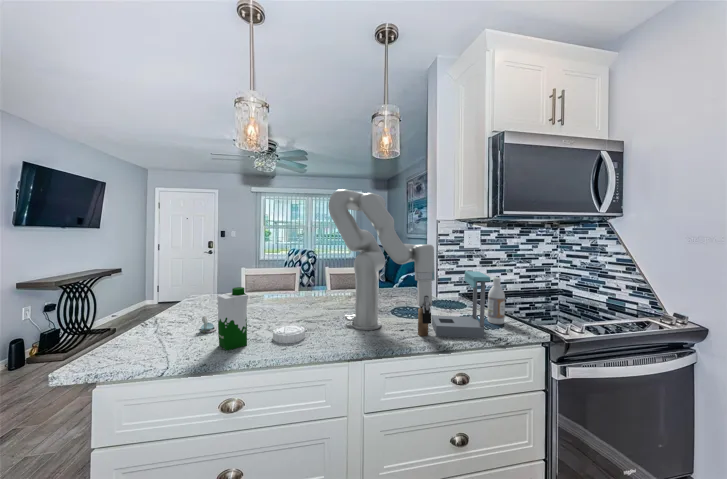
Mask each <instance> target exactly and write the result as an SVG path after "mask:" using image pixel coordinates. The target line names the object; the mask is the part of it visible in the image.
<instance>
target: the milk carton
mask: <svg viewBox="0 0 727 479" xmlns="http://www.w3.org/2000/svg"><path fill="white" fill-rule="evenodd" d="M231 291H232V292H230V293H229V292H227V293H224V294H218V295H216V296H217V332H218V333H217V334H218V336H217V337H218V345H219V346H220V347H222V349H223V350H225V351H231V349H232V350H234V349H235V350H236V349H238V348H242V347H246V346H248V314H247V313H248V300H249V295H248V294H246V293H245V287H243V286H240V287H239V286H237V287H233V288H232V290H231Z"/></svg>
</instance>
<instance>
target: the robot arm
mask: <svg viewBox="0 0 727 479" xmlns="http://www.w3.org/2000/svg"><path fill="white" fill-rule="evenodd" d="M328 200H329V201H328V204H327V205H328V213H329V215H330V217H331V219H332V221H333V223H334V224H335V227H336V228H337V230H338V233H339V234H340V236H341V239H342V240H343V242H344V243H345V244H344V245H345V246H346V248H347V249H348V250H349V251H351V252H359V253H358V255H357V256H356V257H355V258H354V261H353V269H354V270H353V271H354V275H355V278H354V281H355V313H354V314H352V315H350V314H345V318H344V319H345V320H346V321H347V322H351V321H352V322H351V326H352V327H353V328H354V329H356V330H362V331H375V330H377V329H380V328H381V327H382V322H381V321H380V320H379V308H378V307H379V279H378V276H377V272H379V271H381V270H382V269H383V268H384V267H385V265H386V258H385V255H384V253H383V251H382V249H381V247H380V246H379V244H378V241H377V239H376V237H374V235H373V234H372V233H371V231H369V230H367V229H364V228H363V229H361V228H360V226H359V225H358V223H357V221H356V219H355V217H354V216H353V215H352V214H351V212H350V211H357V212H363V214H364V215H365V216H366V218H367V219H368V221H369V222H370V224H371V225H372V227H373V228H374V229H375V231H376V234H377V237H378V240H379V241H380V245H381V246H382V248H383V249H384V251H385V252H386V253H387V255H388V257H389V258H390V259H391V260H392V261H393V262H394V263H396V264H398V265H406V264H408V263H411V262H414V281H417V284H416V287H417V290H416V292H417V296H416V297H417V300H416V301H417V302H416V303H417V304H418V306H419V308H423V313H422V322H423V324H428V325H432V312H431V311H432V310H431V307H432V305H433V286H432V285H433V283H432V282H434V281H435V278H436V275H435V247H434V246H433V244H426V243H425V244H412V243H403V241H402V240H401V239H400V237H399V235H398V234H397V232H396V230H395V219H394V217H393V216H392V215H391V213H390V212H389V211H388V209H387V208H386V199H384V197H383V196H382V195H380V194H378V193H373V192H367V193H366V192H365V193H364V192H360V191H359V192H358V191H354V190H350V189H346V188H345V189H343V188H342V189H339V188H338V189H337V190H335V191H334V192H333V193H332V194H331V196H330V197H329V199H328Z"/></svg>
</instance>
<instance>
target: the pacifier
mask: <svg viewBox="0 0 727 479" xmlns="http://www.w3.org/2000/svg"><path fill="white" fill-rule="evenodd" d="M201 322H202V323H203V324H202V325H201V327H200V328H199V329H198V331H202V333H206V334H207V333H213V332H216V331H217V330H218V327H216V326H214V324H213V323H212V322H208V318H207V316H206V315H203V316H202V318H201Z"/></svg>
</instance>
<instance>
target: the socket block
mask: <svg viewBox="0 0 727 479" xmlns="http://www.w3.org/2000/svg"><path fill="white" fill-rule="evenodd" d="M472 317H473V316H461V315H460V316H457V315H456V316H455V315H434V314H431V326H432V328H433V331H434V334H435V336H436V337H450V338H451V337H452V338H455V337H456V338H473V339H474V338H475V339H476V338H478V339H485V326H484V327H480V320H478V318H476V319H474V318H472Z"/></svg>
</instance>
